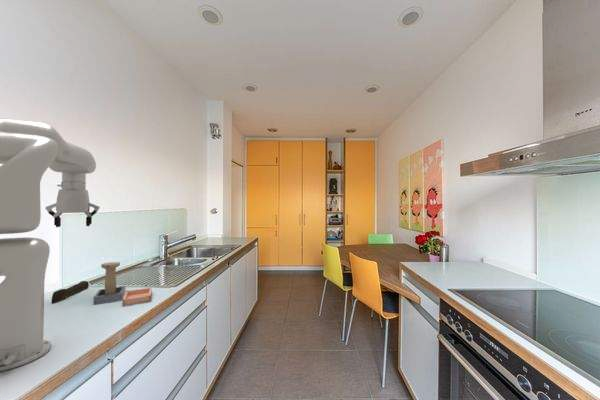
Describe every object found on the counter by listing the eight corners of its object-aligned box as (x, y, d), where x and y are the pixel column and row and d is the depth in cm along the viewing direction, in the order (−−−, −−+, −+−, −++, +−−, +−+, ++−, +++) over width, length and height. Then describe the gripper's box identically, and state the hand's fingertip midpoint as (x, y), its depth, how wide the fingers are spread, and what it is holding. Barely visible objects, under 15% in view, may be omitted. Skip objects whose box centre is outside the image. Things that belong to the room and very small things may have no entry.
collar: (122, 300, 104) (122, 293, 104) (93, 304, 99) (93, 297, 99) (125, 292, 113) (125, 286, 113) (99, 296, 109) (99, 289, 109)
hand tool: (80, 289, 119) (80, 279, 119) (89, 288, 119) (89, 279, 119) (44, 305, 100) (44, 293, 100) (55, 304, 100) (55, 293, 101)
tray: (150, 301, 103) (150, 295, 103) (122, 306, 98) (122, 300, 98) (151, 292, 113) (151, 287, 113) (126, 296, 108) (126, 291, 108)
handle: (116, 299, 105) (116, 264, 105) (98, 301, 103) (99, 265, 103) (121, 295, 109) (121, 261, 110) (104, 296, 108) (105, 262, 108)
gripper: (42, 185, 98) (41, 228, 98) (97, 186, 106) (97, 226, 106) (49, 186, 104) (49, 226, 104) (101, 187, 113) (101, 224, 113)
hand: (73, 226), depth 105 cm, fingers open, 9 cm apart
